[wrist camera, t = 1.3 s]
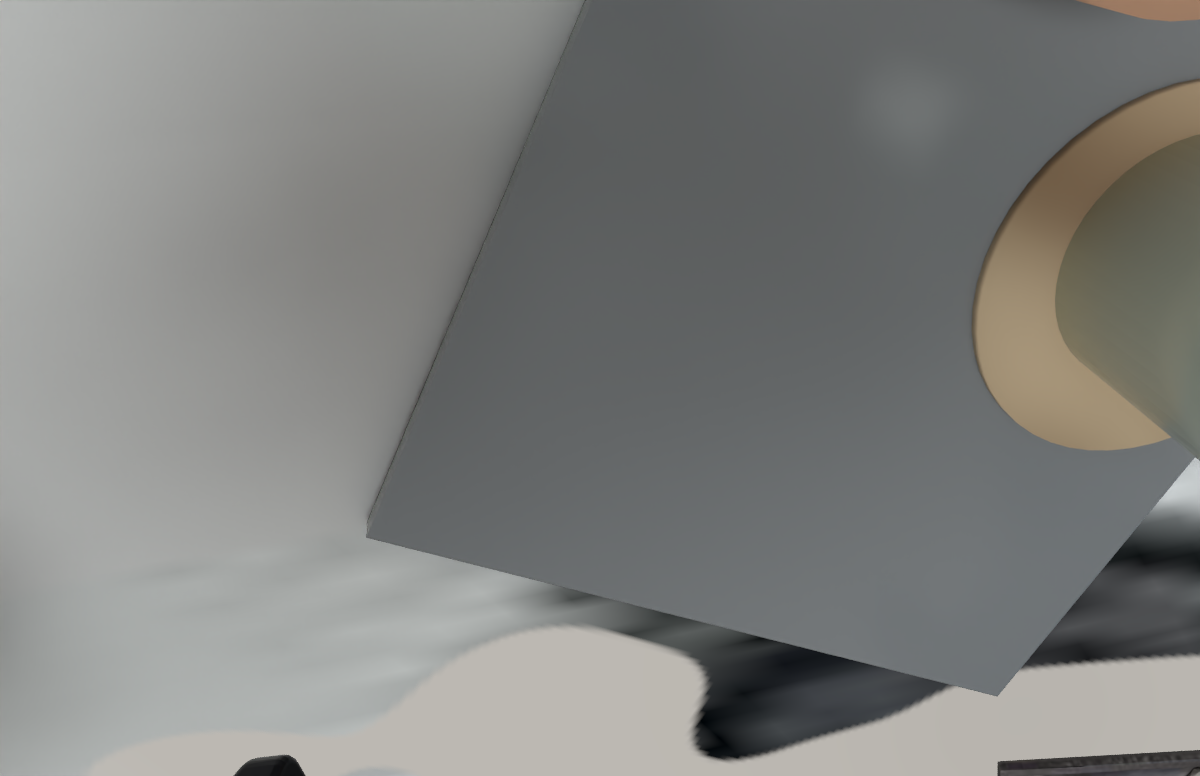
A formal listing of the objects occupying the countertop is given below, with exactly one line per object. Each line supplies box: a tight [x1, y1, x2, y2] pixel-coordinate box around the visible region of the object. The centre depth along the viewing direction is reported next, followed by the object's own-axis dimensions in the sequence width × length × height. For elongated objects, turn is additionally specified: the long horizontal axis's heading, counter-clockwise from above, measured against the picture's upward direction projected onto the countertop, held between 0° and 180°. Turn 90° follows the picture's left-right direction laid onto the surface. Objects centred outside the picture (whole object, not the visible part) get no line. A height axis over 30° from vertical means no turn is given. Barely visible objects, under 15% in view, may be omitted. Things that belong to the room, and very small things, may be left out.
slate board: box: [366, 0, 1200, 696], centre depth 21 cm, size 24×19×1 cm
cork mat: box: [972, 79, 1200, 450], centre depth 22 cm, size 9×9×1 cm
